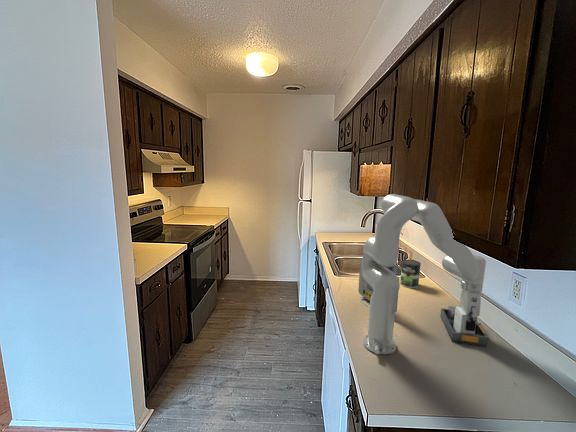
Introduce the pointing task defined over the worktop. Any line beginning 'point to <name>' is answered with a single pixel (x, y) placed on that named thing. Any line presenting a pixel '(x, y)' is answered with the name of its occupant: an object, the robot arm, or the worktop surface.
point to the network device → (367, 289)
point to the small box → (461, 321)
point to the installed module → (451, 312)
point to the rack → (477, 339)
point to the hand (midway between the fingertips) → (466, 324)
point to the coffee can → (410, 273)
